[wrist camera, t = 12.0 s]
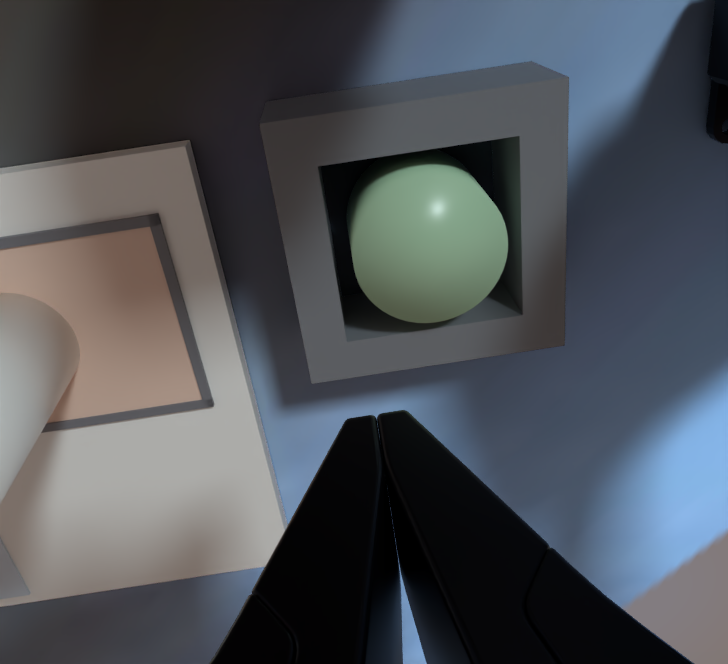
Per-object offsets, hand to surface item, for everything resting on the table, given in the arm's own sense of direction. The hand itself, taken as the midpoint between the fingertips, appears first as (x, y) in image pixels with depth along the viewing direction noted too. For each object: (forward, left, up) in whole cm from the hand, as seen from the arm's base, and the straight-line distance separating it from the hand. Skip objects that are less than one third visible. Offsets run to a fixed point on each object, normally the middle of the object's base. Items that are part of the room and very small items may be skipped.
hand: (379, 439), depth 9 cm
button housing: (-2, +1, -12) cm, 12 cm away
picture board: (+14, +6, -12) cm, 19 cm away
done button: (-2, +1, -11) cm, 12 cm away
